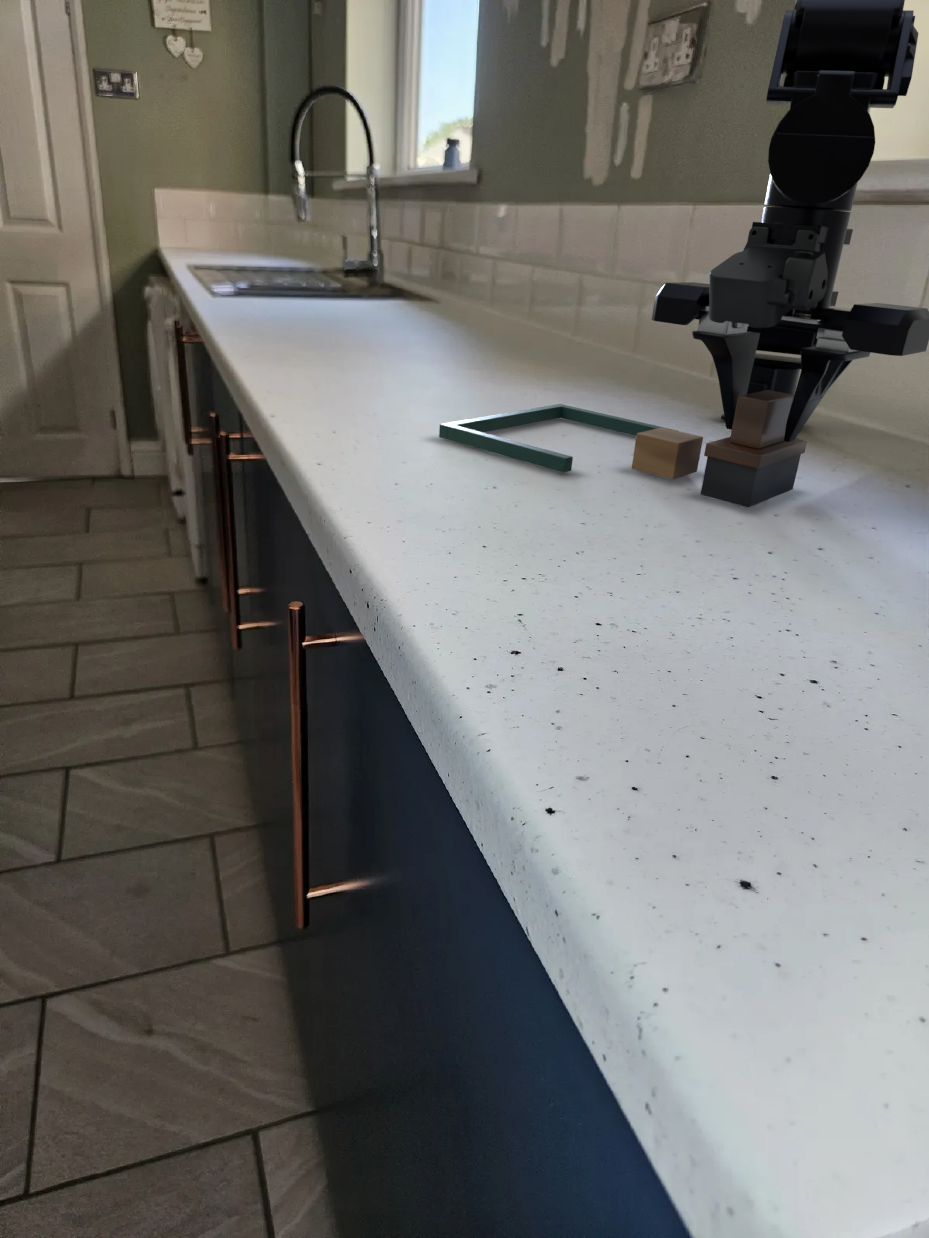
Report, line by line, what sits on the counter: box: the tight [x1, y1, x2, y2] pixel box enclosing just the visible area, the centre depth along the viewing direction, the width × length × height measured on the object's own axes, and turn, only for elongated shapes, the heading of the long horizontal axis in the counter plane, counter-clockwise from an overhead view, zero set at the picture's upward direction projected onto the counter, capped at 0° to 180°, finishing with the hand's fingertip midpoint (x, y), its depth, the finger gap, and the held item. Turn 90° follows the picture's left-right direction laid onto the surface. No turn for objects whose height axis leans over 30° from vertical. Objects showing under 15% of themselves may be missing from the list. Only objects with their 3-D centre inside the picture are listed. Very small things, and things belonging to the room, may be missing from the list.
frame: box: [438, 403, 679, 474], centre depth 80 cm, size 18×14×1 cm
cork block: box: [631, 427, 704, 480], centre depth 72 cm, size 4×4×3 cm
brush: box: [700, 390, 808, 509], centre depth 67 cm, size 8×4×8 cm, turn 138°
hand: (759, 434), depth 66 cm, fingers open, 4 cm apart
